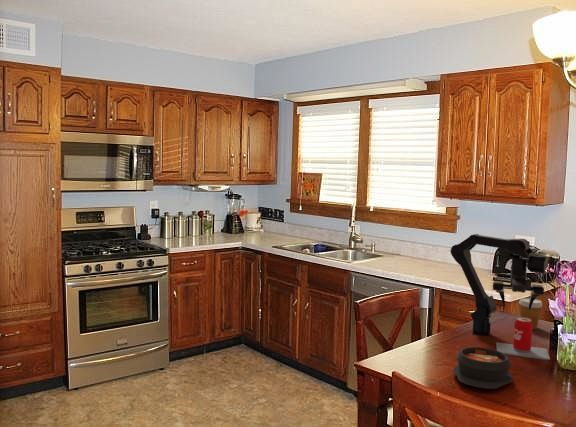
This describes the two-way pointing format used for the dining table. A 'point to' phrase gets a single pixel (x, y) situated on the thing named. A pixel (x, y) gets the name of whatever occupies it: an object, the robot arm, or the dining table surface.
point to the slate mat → (533, 353)
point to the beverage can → (522, 334)
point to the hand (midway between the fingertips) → (516, 308)
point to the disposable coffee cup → (533, 311)
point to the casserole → (483, 368)
